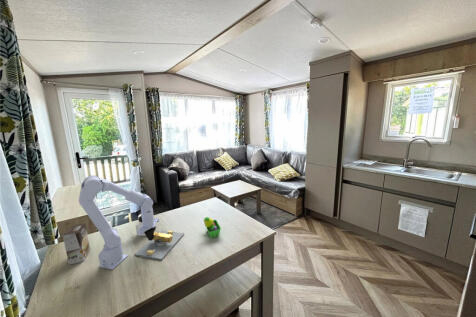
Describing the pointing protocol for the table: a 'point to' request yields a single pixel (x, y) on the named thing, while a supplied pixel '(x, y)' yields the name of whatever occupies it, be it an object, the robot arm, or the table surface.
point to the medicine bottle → (139, 224)
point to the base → (159, 247)
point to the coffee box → (76, 243)
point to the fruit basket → (212, 227)
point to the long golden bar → (161, 238)
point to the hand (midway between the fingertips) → (150, 239)
